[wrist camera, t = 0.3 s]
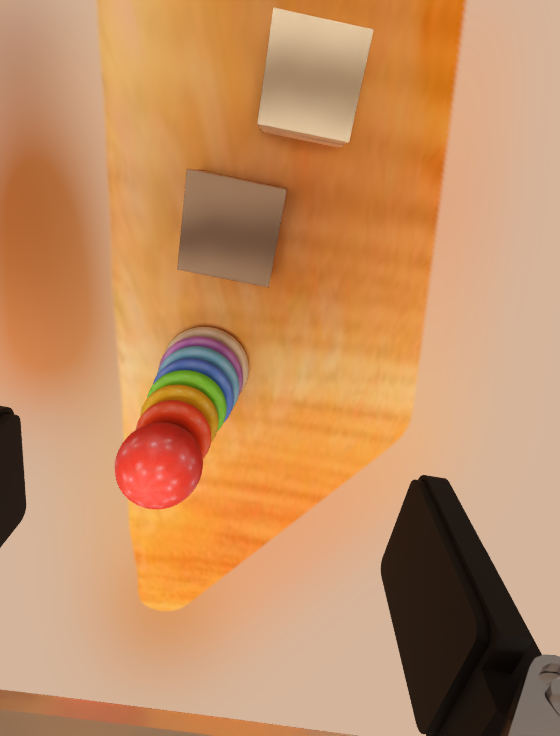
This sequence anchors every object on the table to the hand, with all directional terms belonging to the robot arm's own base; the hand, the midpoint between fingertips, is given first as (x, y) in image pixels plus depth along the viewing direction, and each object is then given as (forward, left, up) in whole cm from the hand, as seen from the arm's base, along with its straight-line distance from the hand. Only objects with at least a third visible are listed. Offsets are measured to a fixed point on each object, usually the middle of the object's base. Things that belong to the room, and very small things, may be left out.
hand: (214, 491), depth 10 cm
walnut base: (-3, -3, -29) cm, 30 cm away
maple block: (-13, +1, -29) cm, 32 cm away
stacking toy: (+10, -4, -29) cm, 31 cm away
